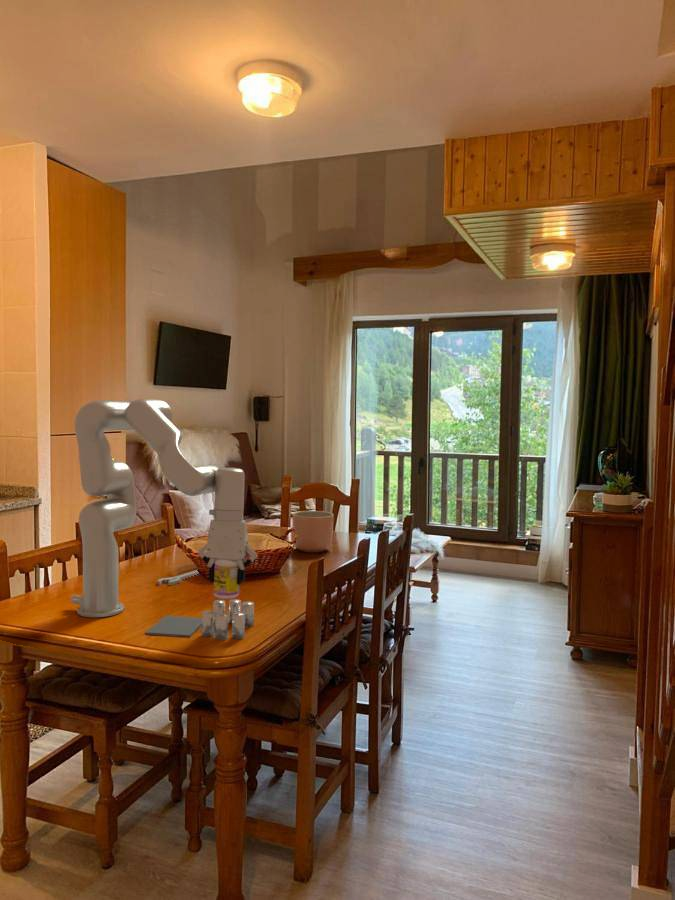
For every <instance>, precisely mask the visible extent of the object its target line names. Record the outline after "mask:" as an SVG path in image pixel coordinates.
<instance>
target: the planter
mask: <svg viewBox="0 0 675 900" xmlns="http://www.w3.org/2000/svg"><path fill="white" fill-rule="evenodd" d="M334 519H335V517H334V513H332V512H329V511H324V510H322V511H321V510H302V511H301V510H300V511H296V512H293V513H292V530H293V529H294V530H295V531H296V535H297V539H296V543H295V544H294V545H295V547H296V548H297V549H298V550H299V551H301V552H304V553H322V552H324V551H326V550H328V549H329V548H330V547H331V545H332V541H333V537H334Z"/></svg>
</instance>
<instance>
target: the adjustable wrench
mask: <svg viewBox="0 0 675 900" xmlns="http://www.w3.org/2000/svg"><path fill="white" fill-rule="evenodd" d="M197 570H198V569H195V570H192V571H189V572H185V573H182V574H179V575H176V576H172V577H171V576H169V577H163V578H159V579H158V580H157V585H158V586H161V585H163V584H167V586H168V585H172V586H175V585H174V584H176V585H178V584H177V583H180V582H182V581H183V580H182V579H184V580H186V579H185V578H187V579H189V578H188V577H190V578H192V577H191V576H193V577H195V576H194V575H196V576H198V575H197V574H199V572H198V571H197ZM199 575H200V574H199ZM164 581H167V582H168V583H167V582H166V583H165V582H164ZM180 584H181V583H180Z"/></svg>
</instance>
